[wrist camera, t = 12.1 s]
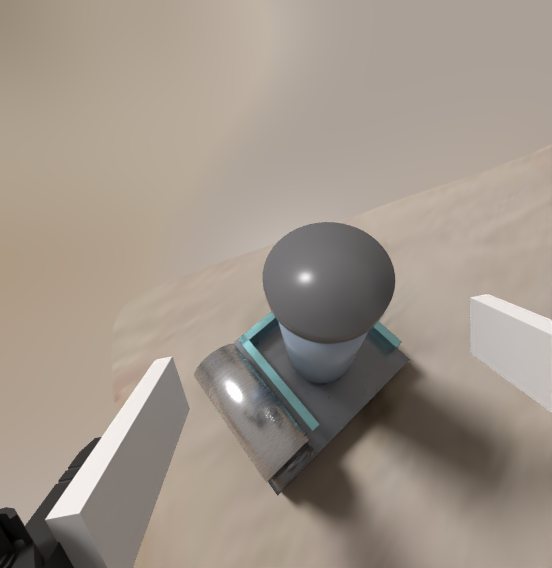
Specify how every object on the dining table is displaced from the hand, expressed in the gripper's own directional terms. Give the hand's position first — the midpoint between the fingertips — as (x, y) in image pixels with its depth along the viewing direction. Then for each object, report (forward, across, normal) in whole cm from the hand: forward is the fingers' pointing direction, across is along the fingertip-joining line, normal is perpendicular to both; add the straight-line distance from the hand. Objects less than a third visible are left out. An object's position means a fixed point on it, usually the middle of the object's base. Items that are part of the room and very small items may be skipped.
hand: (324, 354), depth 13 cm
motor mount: (+9, -1, -7) cm, 12 cm away
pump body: (+9, +1, -5) cm, 10 cm away
